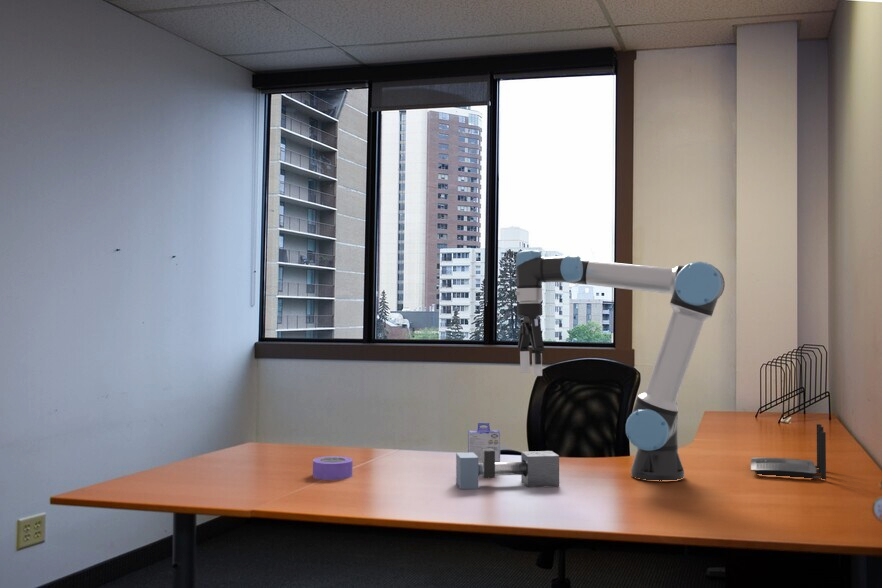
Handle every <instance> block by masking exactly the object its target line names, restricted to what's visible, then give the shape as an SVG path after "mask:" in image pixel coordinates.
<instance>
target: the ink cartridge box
mask: <svg viewBox="0 0 882 588" xmlns="http://www.w3.org/2000/svg"><path fill="white" fill-rule="evenodd" d="M481 426H486V427H481ZM481 448H492V449H493V450H494V451H495V463H497V462H501V433H500V430H497V429H496V430H491V428H490V423H489V422H479V423H477V430H469V431H468V430H467V453H472V452H474V453H475V455H476V456H477V457H478V463H481Z"/></svg>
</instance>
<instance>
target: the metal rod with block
mask: <svg viewBox="0 0 882 588" xmlns="http://www.w3.org/2000/svg"><path fill="white" fill-rule="evenodd" d="M521 475H526V462H521V461H505V462H504V461H503V462H502V461H500V462H497V463H495V451H494V450H493V449H492V448H481V463H478V477H482V478H484V479H496V476H521Z"/></svg>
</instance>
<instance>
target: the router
mask: <svg viewBox="0 0 882 588" xmlns="http://www.w3.org/2000/svg"><path fill="white" fill-rule="evenodd" d="M826 434H827V433H826V431H824V426H822V424H820V423H816V464H815V462H814V461H813V460H808V459H798V458H797V459H796V458H783V457H751V458H750V471H751V472H755V473H756V475H757V474H762V475H776V476H790V477H804V478H822V479H826V480H827V458H826V457H827V453H826V452H827V451H826V450H827V447H826V446H827V444H826V443H827V442H826V441H827V440H826V439H827V437H826ZM817 468H819V469H817ZM817 473H818V474H820V473H821V474H820V475H817Z"/></svg>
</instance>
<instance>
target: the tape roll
mask: <svg viewBox="0 0 882 588" xmlns="http://www.w3.org/2000/svg"><path fill="white" fill-rule="evenodd" d="M353 466H354V465H353V458H352V457H348V456H340V455H339V456H337V455H336V456H334V455H331V456H328V455H327V456H321V457H316V458H314V459H313V460H312V477H313V479H317V480H322V481H323V480H324V481H338V480H345V479H350V478H352V477H353V469H354V468H353Z"/></svg>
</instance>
